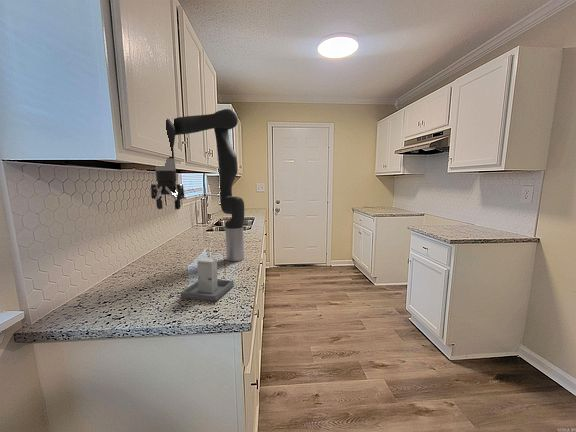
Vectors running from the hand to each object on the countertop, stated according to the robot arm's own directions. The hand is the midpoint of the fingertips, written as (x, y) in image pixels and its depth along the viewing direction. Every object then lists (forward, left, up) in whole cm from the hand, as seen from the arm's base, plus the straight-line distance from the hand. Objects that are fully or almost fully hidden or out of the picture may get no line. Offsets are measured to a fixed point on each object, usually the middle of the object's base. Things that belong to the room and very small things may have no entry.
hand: (168, 209), depth 110 cm
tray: (+10, +23, -30) cm, 39 cm away
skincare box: (+10, +23, -30) cm, 39 cm away
